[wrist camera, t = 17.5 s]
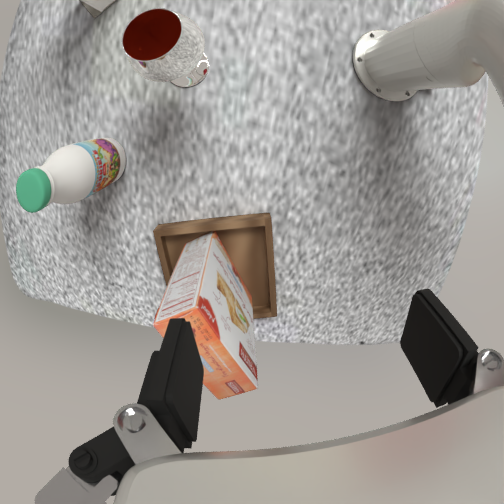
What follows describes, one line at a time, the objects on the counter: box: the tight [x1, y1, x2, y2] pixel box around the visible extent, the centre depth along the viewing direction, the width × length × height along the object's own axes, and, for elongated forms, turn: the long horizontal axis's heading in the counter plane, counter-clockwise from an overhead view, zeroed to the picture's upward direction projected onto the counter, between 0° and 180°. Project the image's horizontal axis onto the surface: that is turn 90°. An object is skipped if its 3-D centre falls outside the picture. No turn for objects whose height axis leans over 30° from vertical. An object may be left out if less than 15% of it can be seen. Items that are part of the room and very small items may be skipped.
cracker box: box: [152, 231, 258, 399], centre depth 38 cm, size 14×6×21 cm, turn 25°
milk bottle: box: [16, 138, 126, 213], centre depth 31 cm, size 8×8×20 cm
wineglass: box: [122, 8, 209, 87], centre depth 26 cm, size 8×8×18 cm
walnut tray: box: [153, 213, 277, 319], centre depth 47 cm, size 18×18×3 cm
